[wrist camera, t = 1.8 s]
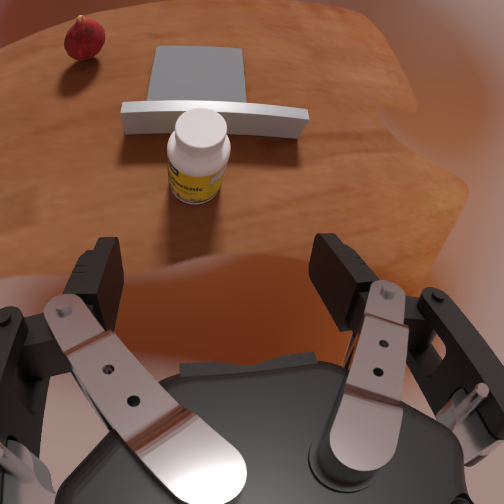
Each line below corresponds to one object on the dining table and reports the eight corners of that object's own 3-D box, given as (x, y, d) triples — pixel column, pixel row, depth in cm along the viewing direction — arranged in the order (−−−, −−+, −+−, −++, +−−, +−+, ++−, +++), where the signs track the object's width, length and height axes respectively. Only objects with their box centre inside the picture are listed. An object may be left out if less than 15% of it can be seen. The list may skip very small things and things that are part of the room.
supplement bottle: (158, 185, 30) (150, 129, 21) (192, 151, 32) (198, 90, 23) (198, 216, 30) (205, 168, 21) (231, 179, 32) (250, 124, 23)
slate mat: (146, 108, 32) (145, 106, 31) (157, 48, 35) (157, 46, 34) (246, 110, 35) (247, 108, 34) (241, 51, 37) (241, 48, 37)
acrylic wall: (125, 134, 31) (120, 112, 27) (127, 124, 31) (122, 102, 27) (297, 138, 35) (309, 119, 31) (295, 129, 35) (307, 109, 32)
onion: (113, 59, 33) (107, 15, 25) (76, 77, 31) (64, 34, 24) (100, 41, 33) (94, 1, 26) (65, 58, 32) (55, 19, 24)
